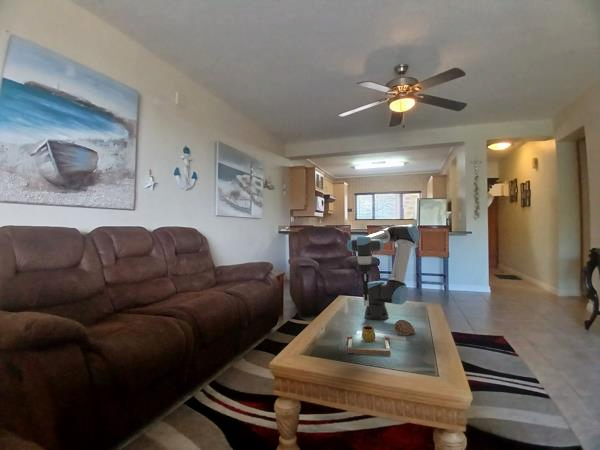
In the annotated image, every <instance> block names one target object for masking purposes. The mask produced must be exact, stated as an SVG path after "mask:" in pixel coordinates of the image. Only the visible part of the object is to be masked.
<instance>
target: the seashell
mask: <svg viewBox="0 0 600 450" xmlns="http://www.w3.org/2000/svg"><path fill="white" fill-rule="evenodd" d="M393 328H394V331H395V332H396V333H397V334H398V335H400V336H408V335H413V334H415V333H416V331H415V327H414V326H413V324H412V323H411V322H409V321H408V320H405V319H398V320H397V321H396V322H395V323H394V327H393Z"/></svg>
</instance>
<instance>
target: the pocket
mask: <svg viewBox="0 0 600 450" xmlns="http://www.w3.org/2000/svg"><path fill="white" fill-rule="evenodd" d="M346 339H347V342H346V343H347V344H348V345H347V354H348V353H354V355H373V356H378V355H379V356H391V348H390V345H391V339H390V336H384V347H385V348H373V347H372V348H371V347H369V348H368V347H367V348H366V347H353V335H351V334H349V335H348V334H347V335H346Z"/></svg>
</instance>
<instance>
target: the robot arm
mask: <svg viewBox="0 0 600 450" xmlns="http://www.w3.org/2000/svg"><path fill="white" fill-rule="evenodd" d="M419 241H420V231H419V229H418V226H416V225H415V224H404V225H403V224H402V225H391V226H388V227H385V228H383V229H380V230H379V231H378V232H374V233H371V234H369V235H365V236H357V237H356V239H349V240H347V242H346V249H347V251H348V252H350V253H351V252H352V253H357V257H356V260H357V263H358V264H357V270H358V272H362V273H361V282H362V286H363V287H362V288H363V290H362V291H363V292H362V293H361V294H362V296H363V306H364V307H366V308H365V311H364V318H366V319H369V320H374V321H379V320H380V321H381V320H386V319H389V312H388V310H387V307H386V304H393V305H403V304H405V303H406V302H407V300H408V297H409V289H408V287H407V283H405V279H406V275H407V271H408V265H409V260H410V254H411V251H412V248H413V247H415V243H418V242H419ZM386 243H396V245H397V247H396V251H395V256H394V260H393V265H392V269H391V274H390V278H389V279H387V281H386V283H385V282H384V281H385V280H377V281H376V280H375V281H369V276H370V274H369V273H368V272H371V271H372V270H373V269H372V253H378V252H381V251H383V250H384V246H385V245H384V244H386Z"/></svg>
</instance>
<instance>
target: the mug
mask: <svg viewBox="0 0 600 450" xmlns="http://www.w3.org/2000/svg"><path fill="white" fill-rule="evenodd" d="M361 338H362V340H363V342H364V343H375V342H376V332H375V330H374V327H373V326H372V325H364V326H363V327H362V328H361Z"/></svg>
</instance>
